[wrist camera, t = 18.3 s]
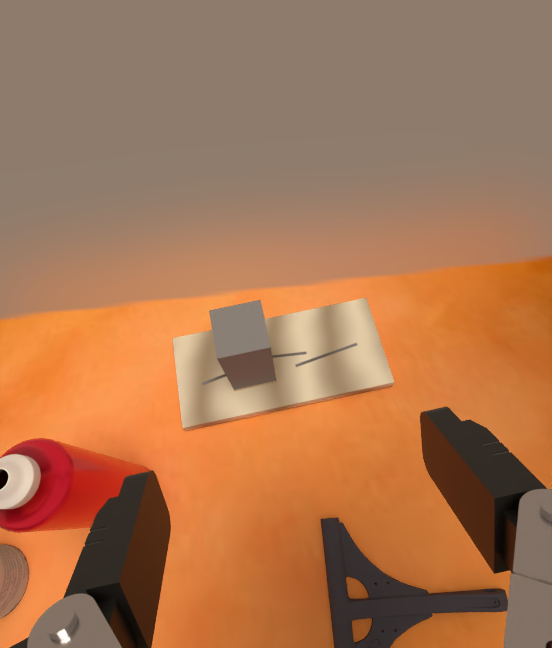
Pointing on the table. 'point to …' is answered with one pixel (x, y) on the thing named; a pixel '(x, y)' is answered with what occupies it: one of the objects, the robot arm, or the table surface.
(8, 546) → the spray paint can
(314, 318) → the board
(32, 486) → the bottle
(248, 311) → the block
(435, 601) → the squeegee
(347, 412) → the table surface
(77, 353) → the table surface
